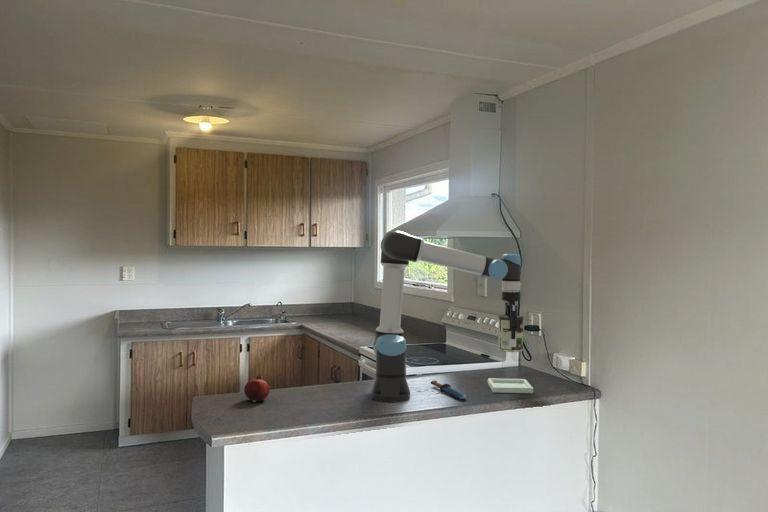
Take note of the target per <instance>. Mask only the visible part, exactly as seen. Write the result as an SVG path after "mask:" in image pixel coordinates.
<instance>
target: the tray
mask: <svg viewBox="0 0 768 512" xmlns="http://www.w3.org/2000/svg"><path fill="white" fill-rule="evenodd" d="M487 384H488V386H489V388H490V389H491V391H492V393H497V394H498V393H501V394H502V393H505V394H507V393H509V394H534V387H533V386H532V385H531V383H530V382H529V381H528V380H527V379H525V378H495V377H494V378H493V377H492V378H491V377H489V378H487Z"/></svg>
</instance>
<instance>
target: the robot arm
mask: <svg viewBox="0 0 768 512" xmlns="http://www.w3.org/2000/svg"><path fill="white" fill-rule="evenodd" d="M380 250H381V251H380V252H381V253H380V264H381V266H383V274H382V275H383V276H382V285H381V286H382V289H381V300H380V303H381V304H380V316H379V325H378V326H377V327H376V328H375V335H374V341H373V345H372V346H373V347H372V348H373V349H372V350H373V353H374V355H375V378H374V381H373V385H372V387H371V390H370V392H371V393H370V397H371V399H372V398H373V399H372V400H375V401H377V400H378V401H377V402H382V401H383V402H384V403H400V401H401V402H406V401H408V400H409V399H410V398H411V390H410V387H409V383H408V381H407V375H406V374H407V373H406V372H407V339H405V337H404V335H405V334H404V333H405V331H404V330H403V329H402V327H401V323H402V310H403V296H404V282H405V280H404V279H405V270H406V268H407V267H408V266H409V265H410V262H414V263H417V262H420V261H421V262H424V263H428V264H431V265H432V264H433V265H436V266H440V267H445V268H449V269H454V270H458V271H461V272H465V273H470V274H473V275H474V276H475V278H476V277H477V278H486V277H487V278H491V279H493V280H501V290H502V292H501V300H502V301H503V302H505V304H504V315H506V316H509V318H511V320H510V329H508V331H509V347H516V331H517V330H518V328H517V315H518V312H517V311H518V306H517V305H516V302H520V301H521V292H520V291H521V286H523V283H521V273H522V272H521V271H522V264H521V263H522V262H521V261H522V259H521V255H520V254H518V253H515V254H513V253H504V254H502V256H501V258H492V257H488V256H487V257H486V256H485V255H482V254H475V253H472V252H468V251H464V250H460V249H456V248H452V247H448V246H443V245H440V244H435V243H431V242H428V241H424V240H423V238H422V237H417V236H414V235H411V234H409V233H407V232H404V231H402V230H392V231H389V232H387V233H386V234H385V235H384V236H383V238H382V240H381V241H380Z"/></svg>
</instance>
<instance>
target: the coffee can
mask: <svg viewBox="0 0 768 512" xmlns="http://www.w3.org/2000/svg"><path fill="white" fill-rule="evenodd" d="M497 317H498V348H497V349H498V351H500V352H504V353H505V352H506V353H507V352H508V353H521V352H523V351H524V319H525V318H524V316H522V315H518V314H517V328H518V330H517V331H516V347H509V331H508V329H510V320H511V318H509V316H506V315H505V314H500V315H498V316H497Z"/></svg>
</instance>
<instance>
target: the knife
mask: <svg viewBox="0 0 768 512" xmlns="http://www.w3.org/2000/svg"><path fill="white" fill-rule="evenodd" d="M430 384H431V385H433V386H435V387H437V388H438V389H439V391H440V392H441V393H447V394H448V395H450V396H451V397H455V398H457V399H458V400H463V399H465V398H467V397H468V396H467V395H466V394H465V393H462V392H461V391H458V389H454V388H452V386H451V385H450V384H449V383H444V384H442V383H439V382H438V381H437V380H436V379H435V380H432V381H430Z"/></svg>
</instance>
